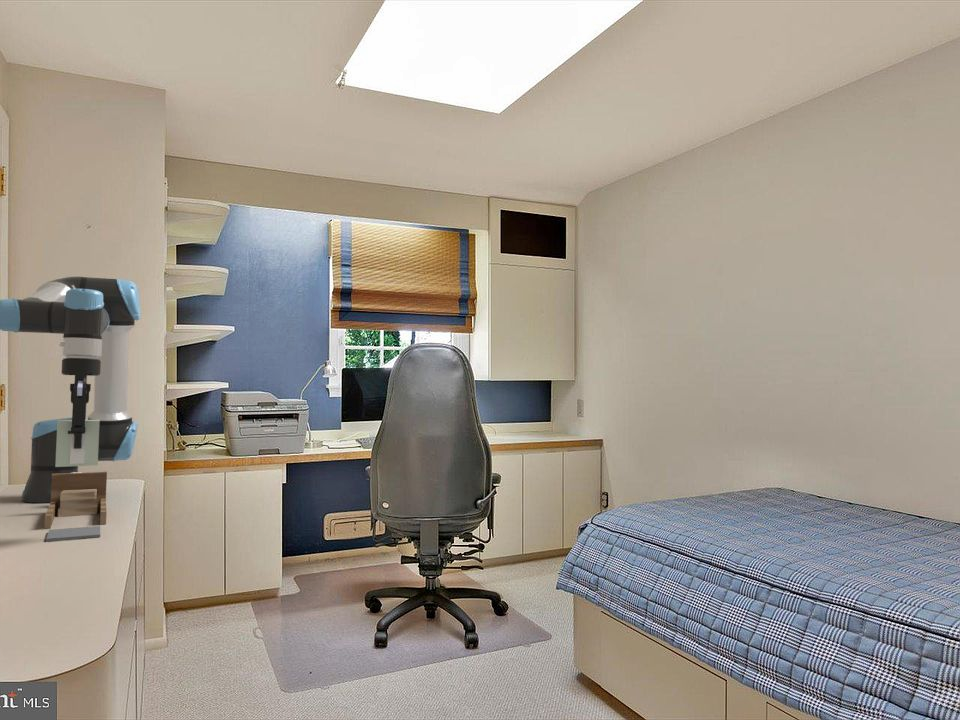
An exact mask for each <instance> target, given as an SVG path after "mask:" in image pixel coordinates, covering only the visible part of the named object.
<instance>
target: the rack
mask: <svg viewBox="0 0 960 720" xmlns="http://www.w3.org/2000/svg"><path fill="white" fill-rule="evenodd" d="M107 476H108V471H93V472H91V471H90V472H87V471H86V473H84V472H82V473H62V474H52V483H51V502H49V505H48V508H47V509H46V513H45V515H44V529H45V530H46V529H51V528H52V525H53V521H54V520H55V517H56V515H57V514H58V508H59V505H60V493H61V492H62V491H64V490H88V489H97V494H96V497H97V512H99V511H100V513H99V520H100V521H99V522H100V523H99V526H100V525H107V484H108V483H107V479H108V477H107Z"/></svg>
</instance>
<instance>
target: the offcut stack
mask: <svg viewBox="0 0 960 720" xmlns="http://www.w3.org/2000/svg"><path fill="white" fill-rule="evenodd" d="M96 494H97V489H88V490H64V491H62V492H61V493H60V505H59V508H58V513H57V517H73V516H74V517H75V516H88V515H89V516H90V515H98V511H97V497H96Z"/></svg>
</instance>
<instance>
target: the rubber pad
mask: <svg viewBox="0 0 960 720" xmlns="http://www.w3.org/2000/svg"><path fill="white" fill-rule="evenodd" d="M95 538H101V526H100V525H96V526H83V527H82V526H81V527H70V528H69V527H68V528H55V529H49V530H48V531H47V535H46V538H45V542H59V541H72V540H83V539H95Z"/></svg>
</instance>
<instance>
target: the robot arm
mask: <svg viewBox="0 0 960 720" xmlns="http://www.w3.org/2000/svg"><path fill="white" fill-rule="evenodd" d="M140 319H141V304H140V297H139V292H138V287H137V285H136V283H135V282H133V281H132V280H127V279H120V278H105V277H104V278H103V277H102V278H101V277H87V276H85V277H84V276H67V277H66V276H65V277H62V278H58V279H57V278H56V279H54V280H49V281H47V282H45V283H43V284H41V285H40V286H39V287H38V288H37V289H36V291H35V293H32V294H30V295H28V296H26V297H24V298H23V299H17V298H2V299H0V331H2V332H11V333H12V332H13V333H36V334H37V333H39V334H40V333H41V334H43V333H44V334H56V335H57V334H61V335H62V334H63V335H62V338H63V341H62V342H61V341H60V343H59V346H60V347H62V355H63V356H64V358H62V360H61V374H62V375H63V376H74V383H70V385H69V390H70V403H71V404H72V411H71V413H72V415H71V416H72V417H64V418H56V419H49V420H47V419H46V420H41V421H37V422H36V423H34V424H33V427H32V436H31V437H30V439H31V455H30V473H29V476H28V478H27V482H26V484H25V486H24V490H22V494H21V501H23V502H24V503H43V504H44V503H50V502H51V483H52V474H62V473H73V472H79V466H68V467H55V464H56V442H57V421H58V420H72V427H71V431H68V434H71V445H70V464H83V463H84V453H85V428H86V427H85V420H100V422H99V446H98V462H117V461H127V460H129V459H130V458H131V457H132V455H133V451H134V448H135V443H136V436H137V431H138V422H137V421H135V420H134V421H133V414H131V412H129V411H128V409H127V408H128V404H127V403H128V376H129V375H128V373H129V372H128V369H129V333H130V330H132V329H133V328H134V327H135V325H136V323H135V321H136V322H137V321H139V320H140ZM88 376H89V377H91V376H92V377H93V376H94V380H93V381H94V387H93V388H94V389H93V411H92V412H91V413H90V414H88V416H87V404H88V403H89V400H90V392H91V389H92V388H91V386H92V385H91V383H88Z"/></svg>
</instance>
